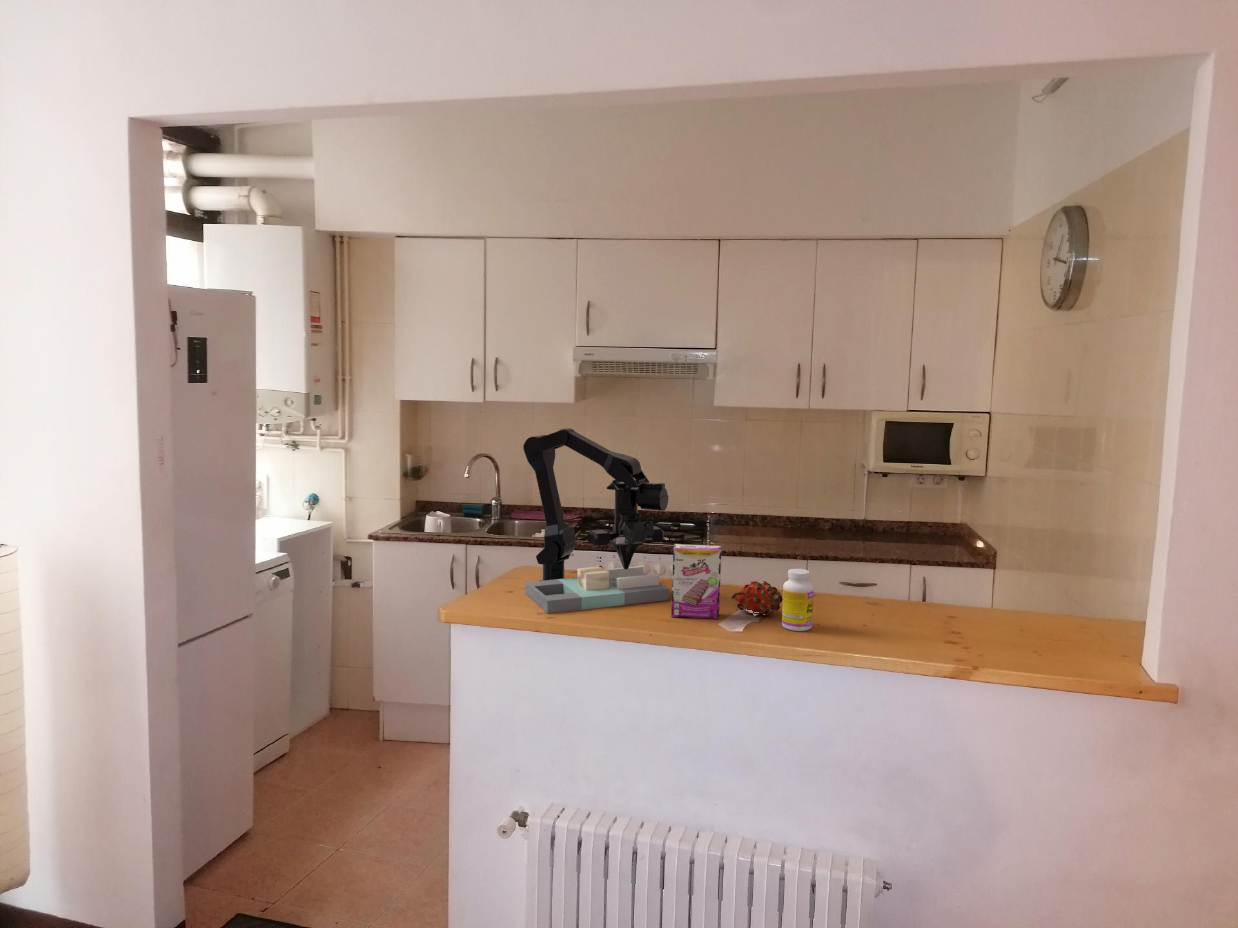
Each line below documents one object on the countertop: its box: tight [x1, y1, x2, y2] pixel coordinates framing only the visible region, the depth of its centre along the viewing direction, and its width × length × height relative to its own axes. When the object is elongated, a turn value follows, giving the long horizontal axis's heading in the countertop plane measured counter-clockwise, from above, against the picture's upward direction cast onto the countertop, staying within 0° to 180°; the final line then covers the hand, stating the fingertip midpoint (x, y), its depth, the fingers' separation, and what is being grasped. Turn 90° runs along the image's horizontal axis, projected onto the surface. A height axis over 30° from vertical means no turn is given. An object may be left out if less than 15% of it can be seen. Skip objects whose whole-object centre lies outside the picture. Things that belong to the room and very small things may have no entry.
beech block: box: [577, 566, 609, 590], centre depth 215 cm, size 6×6×4 cm
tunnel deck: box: [524, 565, 670, 614], centre depth 216 cm, size 18×32×6 cm, turn 113°
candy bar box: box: [670, 543, 722, 620], centre depth 201 cm, size 11×5×16 cm, turn 84°
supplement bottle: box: [781, 568, 814, 632], centre depth 193 cm, size 7×7×13 cm
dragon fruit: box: [730, 580, 783, 616], centre depth 203 cm, size 8×8×12 cm
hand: (625, 569), depth 219 cm, fingers closed
